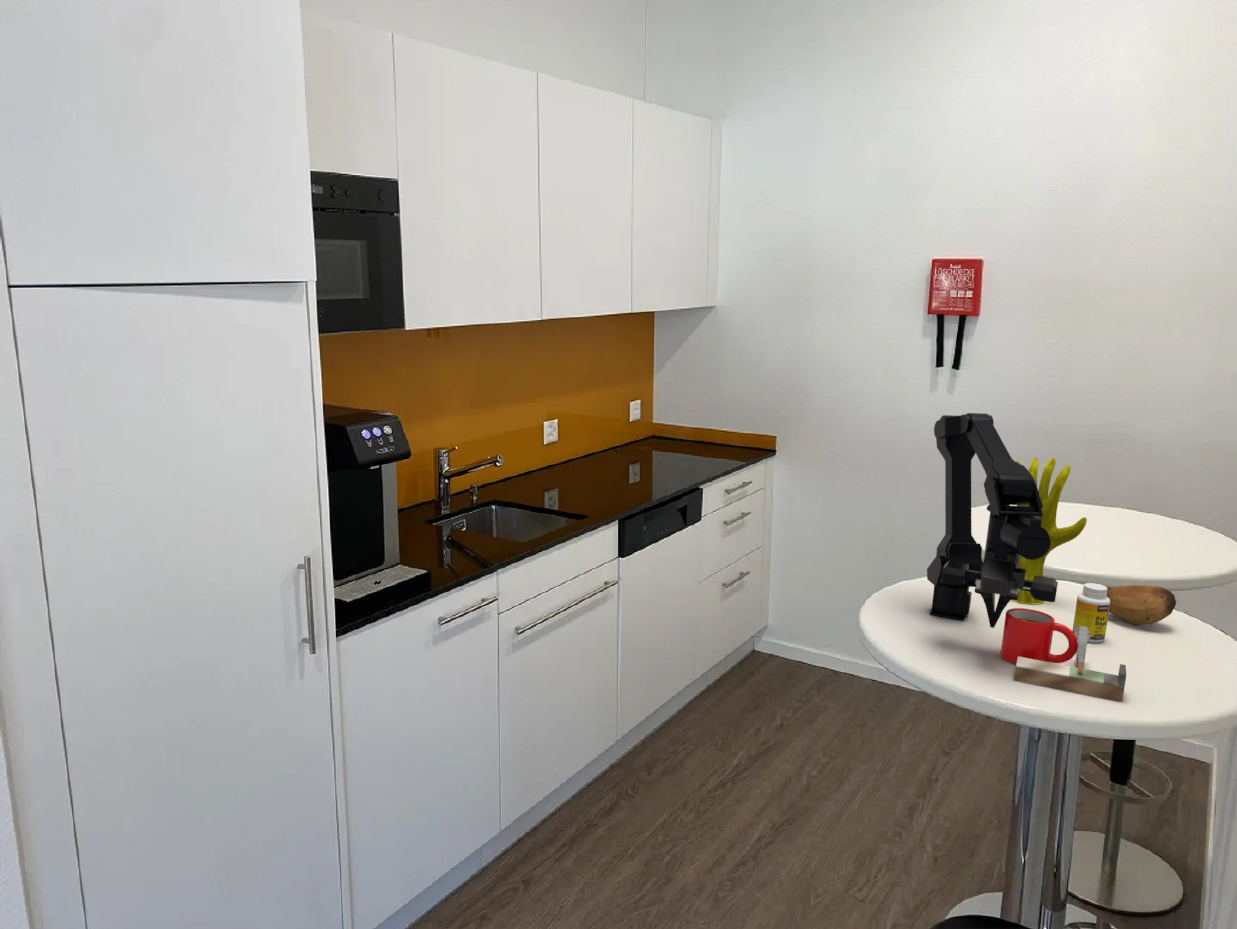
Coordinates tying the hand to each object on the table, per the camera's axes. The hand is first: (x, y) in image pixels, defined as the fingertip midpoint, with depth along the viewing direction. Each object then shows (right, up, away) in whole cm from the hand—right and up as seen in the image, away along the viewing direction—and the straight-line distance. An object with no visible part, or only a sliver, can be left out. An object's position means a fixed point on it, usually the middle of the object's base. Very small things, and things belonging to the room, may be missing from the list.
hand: (992, 627), depth 169 cm
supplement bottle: (+22, -4, +9) cm, 24 cm away
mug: (+7, -6, -2) cm, 9 cm away
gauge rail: (+7, -8, -12) cm, 16 cm away
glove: (+20, 0, +30) cm, 36 cm away
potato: (+35, -3, +18) cm, 40 cm away
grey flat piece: (+11, -6, -8) cm, 15 cm away
